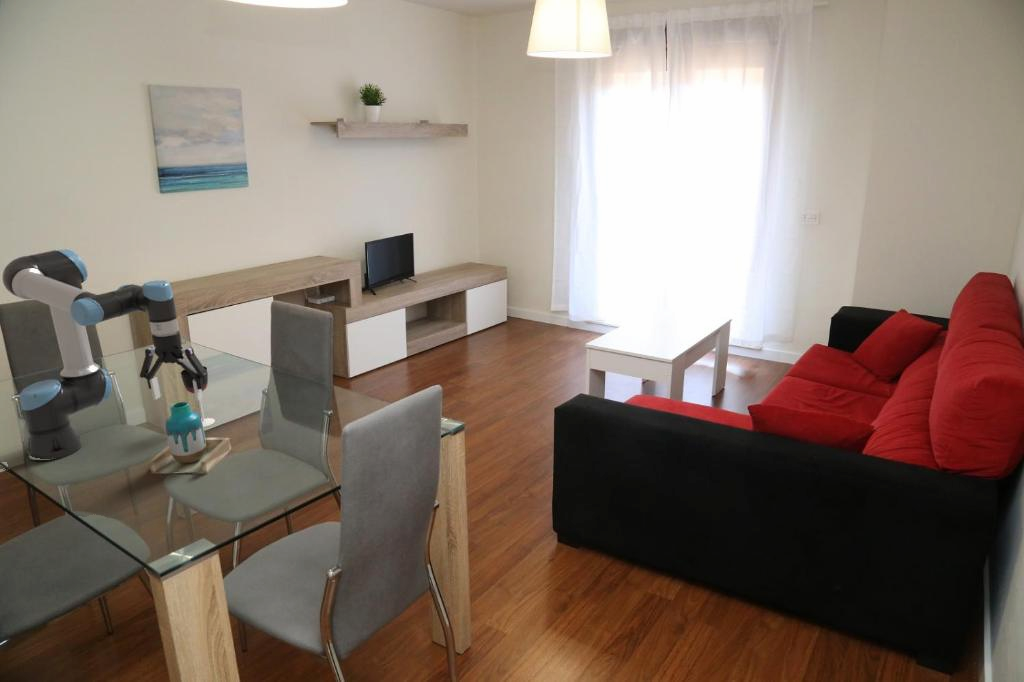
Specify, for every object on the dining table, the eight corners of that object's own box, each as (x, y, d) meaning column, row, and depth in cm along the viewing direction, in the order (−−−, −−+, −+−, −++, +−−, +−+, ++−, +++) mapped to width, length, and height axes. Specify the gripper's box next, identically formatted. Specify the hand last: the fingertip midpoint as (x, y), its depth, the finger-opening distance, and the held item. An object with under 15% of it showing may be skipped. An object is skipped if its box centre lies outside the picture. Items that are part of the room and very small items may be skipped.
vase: (195, 469, 215) (184, 412, 209) (165, 467, 217) (152, 410, 211) (215, 453, 225) (205, 398, 219) (186, 451, 227) (175, 397, 221)
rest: (151, 473, 215) (148, 461, 213) (179, 448, 230) (177, 437, 229) (207, 473, 213) (205, 462, 212) (232, 448, 229) (230, 437, 228)
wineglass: (221, 419, 251) (211, 367, 245) (202, 429, 244) (191, 376, 238) (205, 416, 255) (195, 365, 248) (185, 425, 247) (175, 373, 241)
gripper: (118, 336, 205) (132, 402, 212) (199, 337, 203) (211, 403, 210) (133, 328, 212) (146, 393, 219) (212, 329, 210) (223, 394, 217)
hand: (178, 398), depth 214 cm, fingers open, 13 cm apart
